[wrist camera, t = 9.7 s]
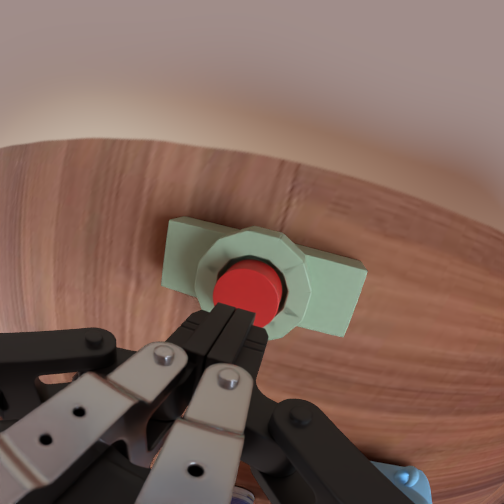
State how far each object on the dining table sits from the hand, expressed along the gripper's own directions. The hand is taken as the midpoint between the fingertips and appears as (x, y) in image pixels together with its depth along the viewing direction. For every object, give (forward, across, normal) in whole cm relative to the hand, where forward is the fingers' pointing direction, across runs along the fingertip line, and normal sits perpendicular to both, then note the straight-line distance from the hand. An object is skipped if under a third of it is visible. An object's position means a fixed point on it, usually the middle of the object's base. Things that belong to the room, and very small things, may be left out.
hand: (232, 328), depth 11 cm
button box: (+8, 0, 0) cm, 8 cm away
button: (+4, 0, 0) cm, 4 cm away
